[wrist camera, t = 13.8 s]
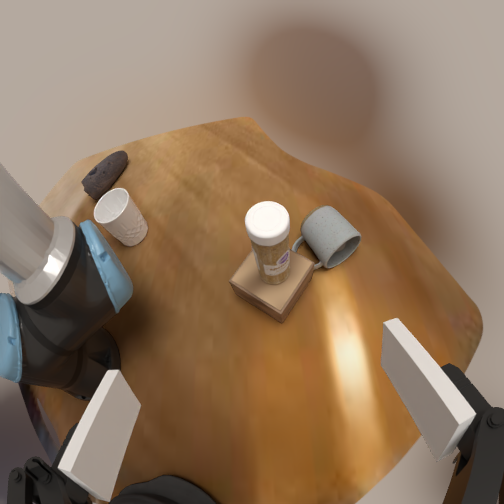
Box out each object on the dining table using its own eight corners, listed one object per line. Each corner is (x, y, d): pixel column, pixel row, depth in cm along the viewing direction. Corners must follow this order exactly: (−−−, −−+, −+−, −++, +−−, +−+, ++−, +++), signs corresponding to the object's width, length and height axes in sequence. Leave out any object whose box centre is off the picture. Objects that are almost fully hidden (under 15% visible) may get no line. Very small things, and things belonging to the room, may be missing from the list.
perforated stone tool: (126, 158, 66) (115, 141, 60) (137, 163, 65) (125, 144, 58) (89, 199, 61) (75, 183, 55) (98, 206, 60) (83, 189, 54)
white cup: (113, 245, 53) (87, 220, 44) (128, 214, 57) (106, 187, 48) (141, 252, 52) (116, 225, 43) (156, 218, 55) (135, 189, 46)
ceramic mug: (328, 219, 49) (332, 193, 43) (357, 251, 46) (366, 228, 39) (281, 249, 48) (279, 226, 41) (309, 285, 44) (312, 267, 38)
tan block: (236, 294, 45) (228, 280, 40) (266, 252, 48) (263, 233, 42) (282, 323, 42) (281, 313, 37) (311, 277, 45) (314, 262, 39)
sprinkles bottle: (281, 290, 38) (277, 244, 26) (252, 277, 39) (235, 227, 28) (295, 263, 40) (296, 207, 28) (267, 251, 41) (257, 194, 29)
